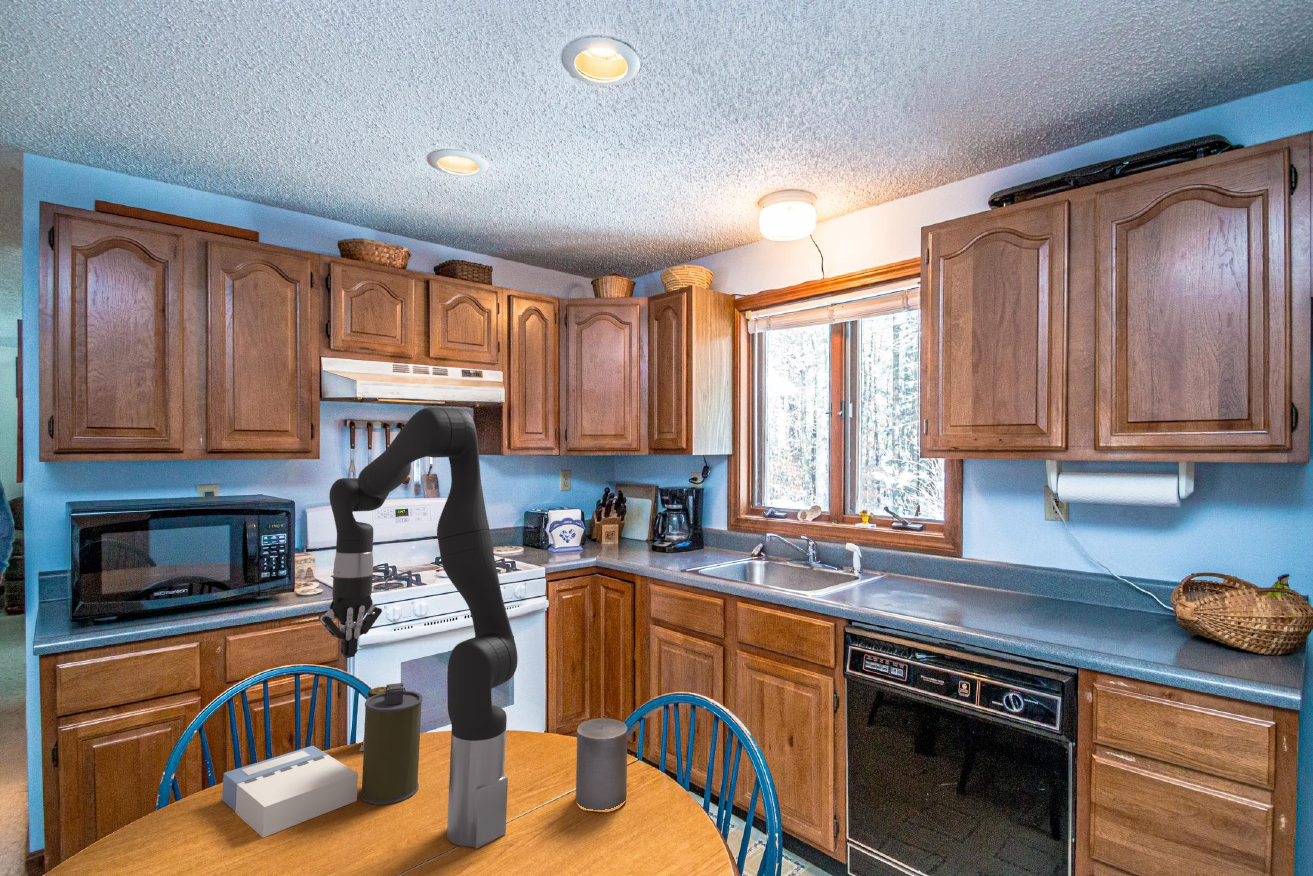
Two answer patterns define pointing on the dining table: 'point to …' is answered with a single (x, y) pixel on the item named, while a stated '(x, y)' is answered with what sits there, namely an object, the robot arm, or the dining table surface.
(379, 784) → the canister
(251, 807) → the white box
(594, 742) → the pillar candle
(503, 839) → the dining table surface
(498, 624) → the robot arm
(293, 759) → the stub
